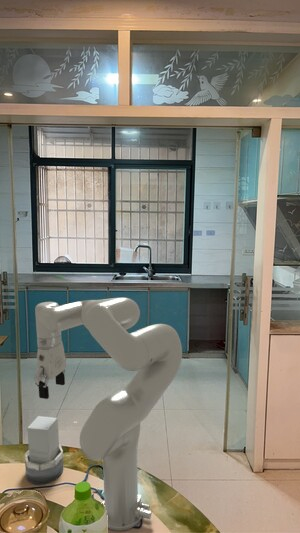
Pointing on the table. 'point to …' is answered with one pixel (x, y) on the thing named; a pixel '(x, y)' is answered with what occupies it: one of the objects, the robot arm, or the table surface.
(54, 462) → the bowl
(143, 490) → the table surface
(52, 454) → the supplement box
